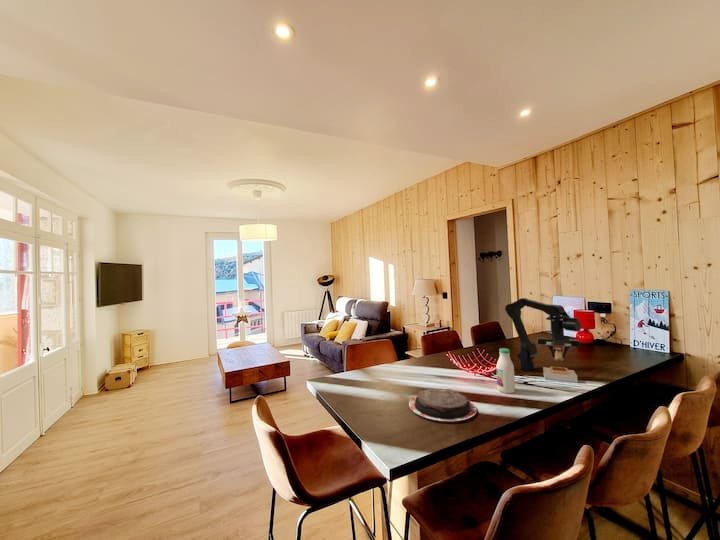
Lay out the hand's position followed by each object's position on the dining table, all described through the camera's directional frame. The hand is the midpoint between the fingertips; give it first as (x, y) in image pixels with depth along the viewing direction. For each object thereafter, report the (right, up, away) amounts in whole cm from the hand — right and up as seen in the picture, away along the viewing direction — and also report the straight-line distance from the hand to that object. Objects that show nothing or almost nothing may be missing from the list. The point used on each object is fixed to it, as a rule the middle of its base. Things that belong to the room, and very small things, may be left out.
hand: (558, 358), depth 154 cm
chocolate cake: (-72, -12, -31) cm, 79 cm away
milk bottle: (-36, -11, -15) cm, 40 cm away
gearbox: (0, -11, 0) cm, 11 cm away
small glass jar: (0, -1, 0) cm, 1 cm away
